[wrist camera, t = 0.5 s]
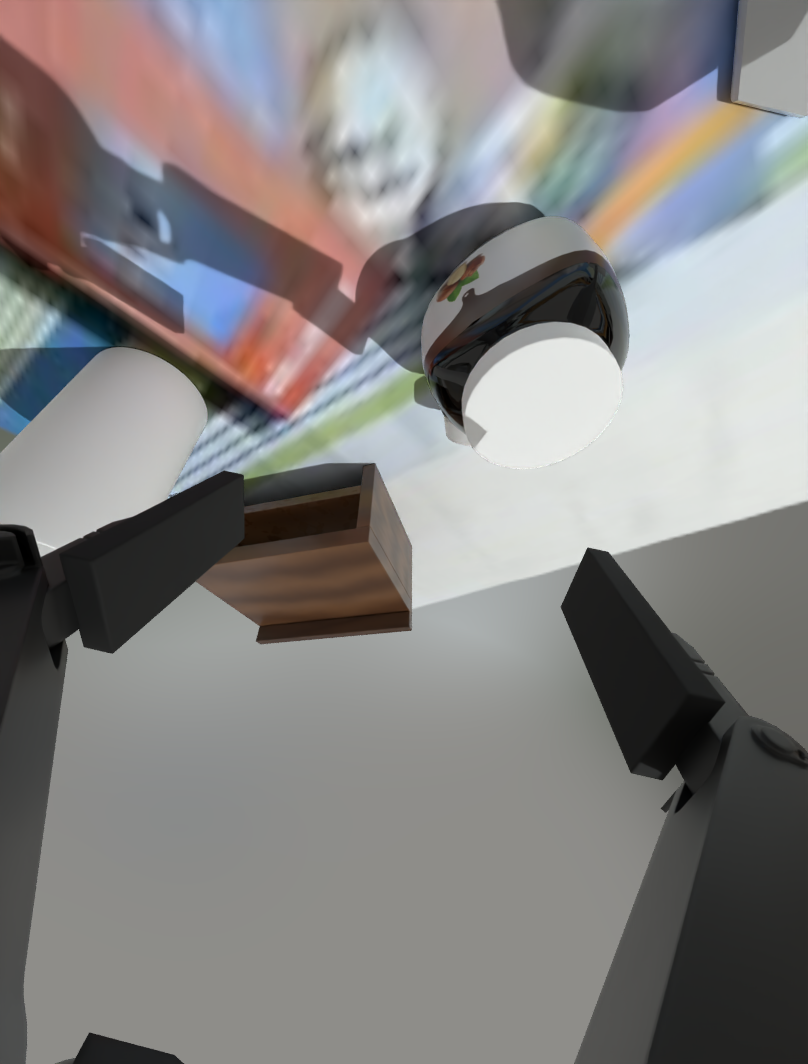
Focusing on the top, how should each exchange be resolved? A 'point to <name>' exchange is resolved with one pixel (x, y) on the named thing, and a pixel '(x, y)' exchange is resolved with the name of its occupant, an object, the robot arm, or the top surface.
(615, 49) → the top surface
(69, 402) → the cup
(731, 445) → the top surface
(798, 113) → the wineglass
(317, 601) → the small wooden box
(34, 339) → the top surface
